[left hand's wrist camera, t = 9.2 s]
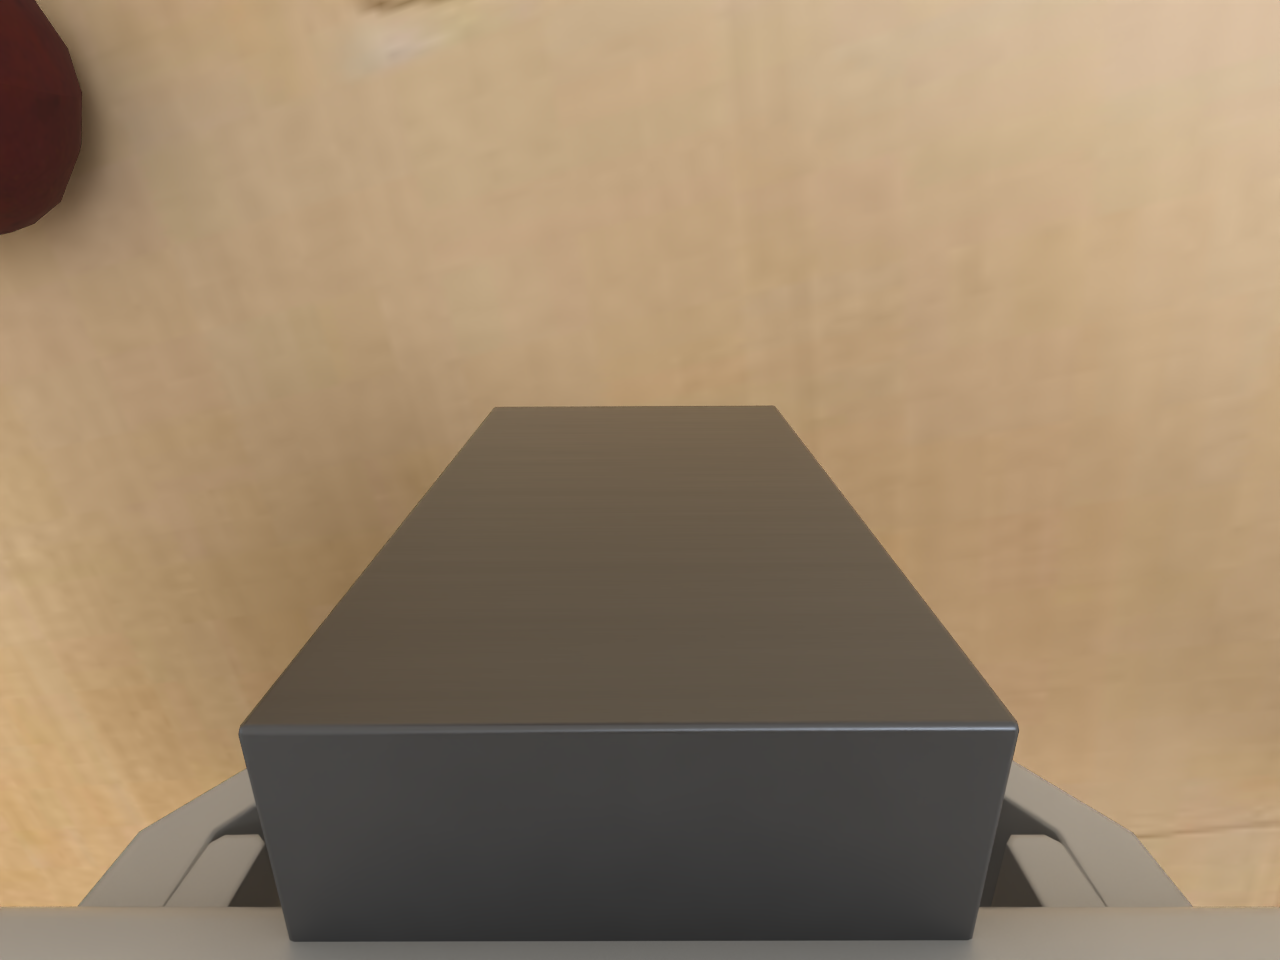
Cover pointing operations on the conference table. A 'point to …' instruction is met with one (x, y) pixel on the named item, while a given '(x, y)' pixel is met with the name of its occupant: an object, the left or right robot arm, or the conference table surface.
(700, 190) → the conference table surface
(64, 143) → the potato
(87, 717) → the conference table surface
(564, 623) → the bar
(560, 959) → the left robot arm
